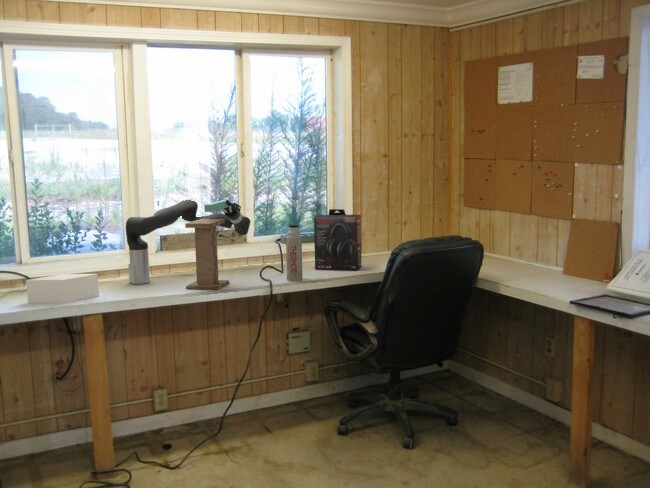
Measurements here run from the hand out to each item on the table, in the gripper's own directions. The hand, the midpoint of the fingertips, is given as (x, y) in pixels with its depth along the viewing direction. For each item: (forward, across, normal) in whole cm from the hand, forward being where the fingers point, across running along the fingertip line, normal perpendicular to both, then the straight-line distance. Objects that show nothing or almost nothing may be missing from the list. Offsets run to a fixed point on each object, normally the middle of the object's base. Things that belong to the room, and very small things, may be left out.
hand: (222, 201), depth 339 cm
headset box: (-46, -54, -20) cm, 74 cm away
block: (+35, +54, -65) cm, 91 cm away
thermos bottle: (-16, -38, -37) cm, 56 cm away
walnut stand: (+3, 0, -47) cm, 47 cm away
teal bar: (+5, 0, -7) cm, 8 cm away
